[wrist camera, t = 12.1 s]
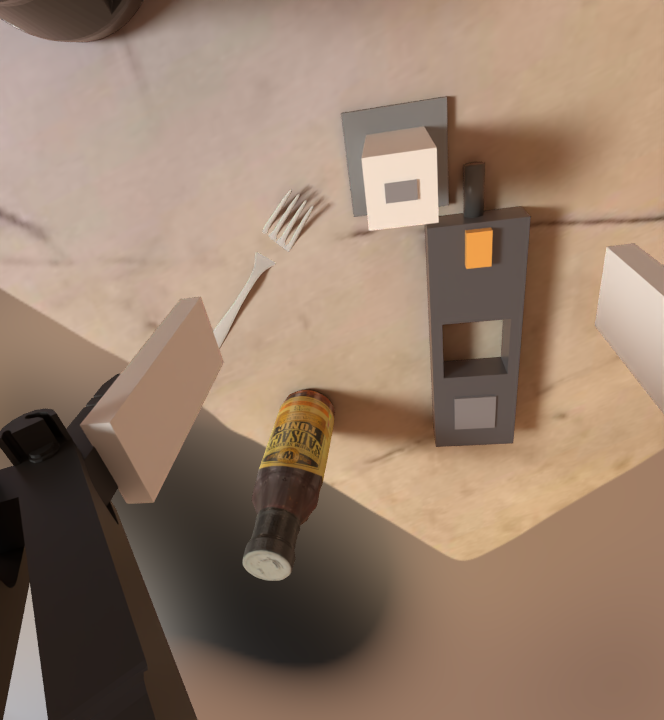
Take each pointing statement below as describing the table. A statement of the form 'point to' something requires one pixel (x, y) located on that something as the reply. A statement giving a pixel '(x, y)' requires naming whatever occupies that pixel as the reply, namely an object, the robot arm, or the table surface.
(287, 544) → the sauce bottle
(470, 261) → the power strip
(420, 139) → the block
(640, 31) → the table surface
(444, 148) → the mat
